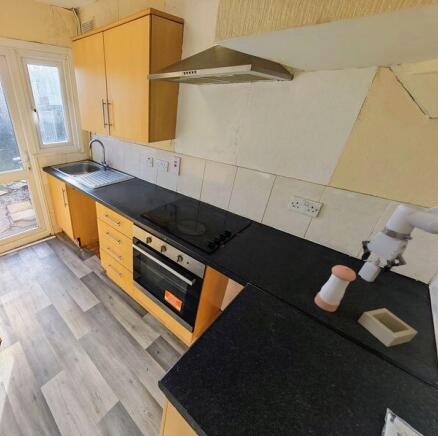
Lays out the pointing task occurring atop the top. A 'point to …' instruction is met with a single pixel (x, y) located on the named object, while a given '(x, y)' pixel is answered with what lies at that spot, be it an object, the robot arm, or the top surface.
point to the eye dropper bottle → (370, 270)
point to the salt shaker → (334, 288)
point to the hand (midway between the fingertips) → (373, 265)
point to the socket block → (382, 316)
